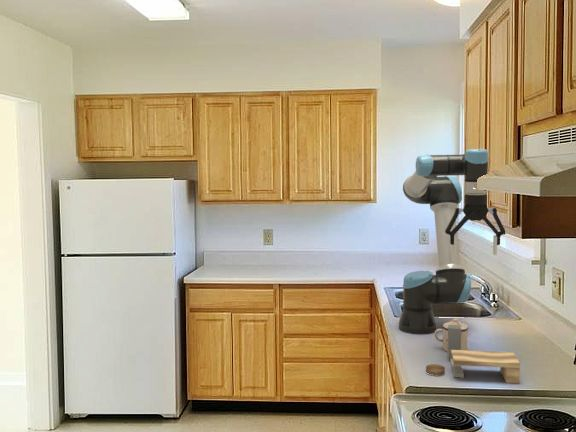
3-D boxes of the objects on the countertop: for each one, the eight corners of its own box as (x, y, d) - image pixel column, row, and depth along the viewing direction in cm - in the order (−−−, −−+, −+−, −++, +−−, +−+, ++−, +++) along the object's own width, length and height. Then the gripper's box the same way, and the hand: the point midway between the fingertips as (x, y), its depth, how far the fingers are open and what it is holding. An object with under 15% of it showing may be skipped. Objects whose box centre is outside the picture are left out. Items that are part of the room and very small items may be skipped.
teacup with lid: (468, 346, 218) (469, 316, 217) (467, 355, 210) (467, 323, 208) (435, 343, 222) (436, 313, 221) (432, 351, 214) (433, 320, 212)
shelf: (450, 368, 198) (451, 349, 197) (512, 371, 194) (513, 352, 194) (453, 380, 188) (454, 360, 187) (519, 383, 185) (519, 363, 184)
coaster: (425, 369, 198) (425, 363, 198) (443, 370, 197) (443, 364, 197) (427, 376, 192) (427, 370, 192) (445, 377, 191) (446, 371, 191)
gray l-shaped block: (447, 357, 208) (448, 324, 206) (459, 358, 207) (459, 325, 205) (452, 377, 190) (453, 341, 189) (465, 378, 189) (466, 342, 188)
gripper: (439, 194, 201) (439, 255, 204) (515, 194, 197) (514, 256, 200) (438, 193, 209) (437, 251, 211) (511, 192, 204) (509, 252, 207)
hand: (474, 254), depth 205 cm, fingers open, 13 cm apart
